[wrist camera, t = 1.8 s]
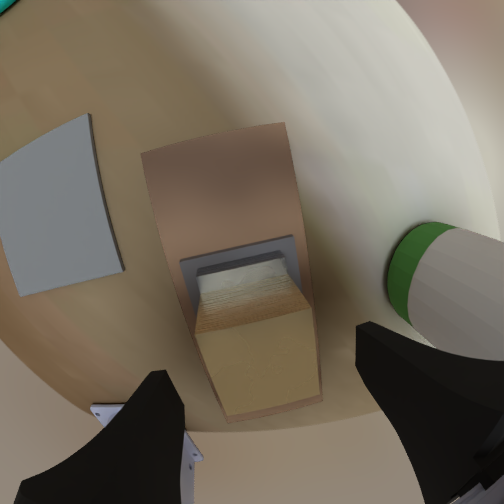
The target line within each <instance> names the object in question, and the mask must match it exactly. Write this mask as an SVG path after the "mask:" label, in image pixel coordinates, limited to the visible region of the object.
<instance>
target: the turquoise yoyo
mask: <svg viewBox="0 0 504 504" xmlns="http://www.w3.org/2000/svg"><path fill="white" fill-rule="evenodd" d="M15 1H16V0H0V13H1V12H3V11H4V10H5V9H6V8H8V7H9V6H10V5H11V4H12V3H14V2H15Z"/></svg>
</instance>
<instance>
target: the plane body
mask: <svg viewBox="0 0 504 504" xmlns="http://www.w3.org/2000/svg"><path fill="white" fill-rule="evenodd" d="M141 158H142V163H143V168H144V173H145V178H146V182H147V187H148V191H149V195H150V200H151V204H152V208H153V212H154V216H155V220H156V224H157V228H158V231H159V235H160V239H161V242H162V246H163V250H164V253H165V257H166V260H167V263H168V267H169V270H170V273H171V277H172V280H173V283H174V286H175V289H176V292H177V296H178V299H179V302H180V305H181V308H182V310H183V313H184V316H185V319H186V322H187V325H188V328H189V330H190V333H191V336H192V339H193V341H194V344H195V347H196V349H197V352H198V355H199V357H200V360H201V362H202V365H203V367H204V370H205V372H206V375H207V377H208V380H209V382H210V384H211V387H212V389H213V392H214V394H215V396H216V398H217V401H218V403H219V405H220V408H221V410H222V412H223V414H224V416H225V419H226V421H227V423H232V422H238V421H244V420H249V419H254V418H259V417H264V416H268V415H273V414H277V413H281V412H285V411H289V410H293V409H297V408H300V407H304V406H307V405H311V404H314V403H318V402H321V401H323V399H322V382H321V368H320V355H319V344H318V333H317V323H316V314H315V304H314V296H313V287H312V279H311V272H310V264H309V257H308V250H307V243H306V236H305V230H304V223H303V217H302V211H301V205H300V199H299V193H298V188H297V182H296V177H295V172H294V166H293V161H292V156H291V151H290V146H289V141H288V136H287V132H286V127H285V122H281V123H274V124H267V125H260V126H254V127H248V128H243V129H237V130H232V131H227V132H222V133H217V134H212V135H208V136H204V137H199V138H195V139H191V140H187V141H183V142H179V143H175V144H172V145H168V146H164V147H161V148H157V149H154V150H150V151H147V152H144V153H141ZM277 250H280V251H281V252H282V253H283V255H284V256H285V258H286V264H287V270H288V274H289V276H290V277H291V279H292V280H293V281H294V283H295V284H296V286H297V287H298V289H299V290H300V292H301V293H302V294H303V296H304V297H305V299H306V300H307V302H308V303H309V305H310V306H311V308H312V315H313V324H314V334H315V343H316V354H317V365H318V377H319V391H320V394H319V395H316V396H312V397H309V398H305V399H302V400H298V401H295V402H291V403H287V404H283V405H279V406H275V407H270V408H266V409H261V410H257V411H252V412H247V413H241V414H236V415H230V416H227V414H226V412H225V410H224V408H223V405H222V403H221V401H220V398H219V396H218V394H217V391H216V389H215V386H214V384H213V381H212V379H211V376H210V374H209V371H208V369H207V366H206V364H205V361H204V359H203V356H202V353H201V351H200V348H199V345H198V343H197V340H196V337H195V328H196V321H197V314H198V307H199V300H200V291H199V287H198V284H197V280H196V273H197V269H198V268H202V267H206V266H210V265H215V264H219V263H224V262H228V261H233V260H237V259H242V258H246V257H250V256H255V255H259V254H264V253H268V252H272V251H277Z"/></svg>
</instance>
